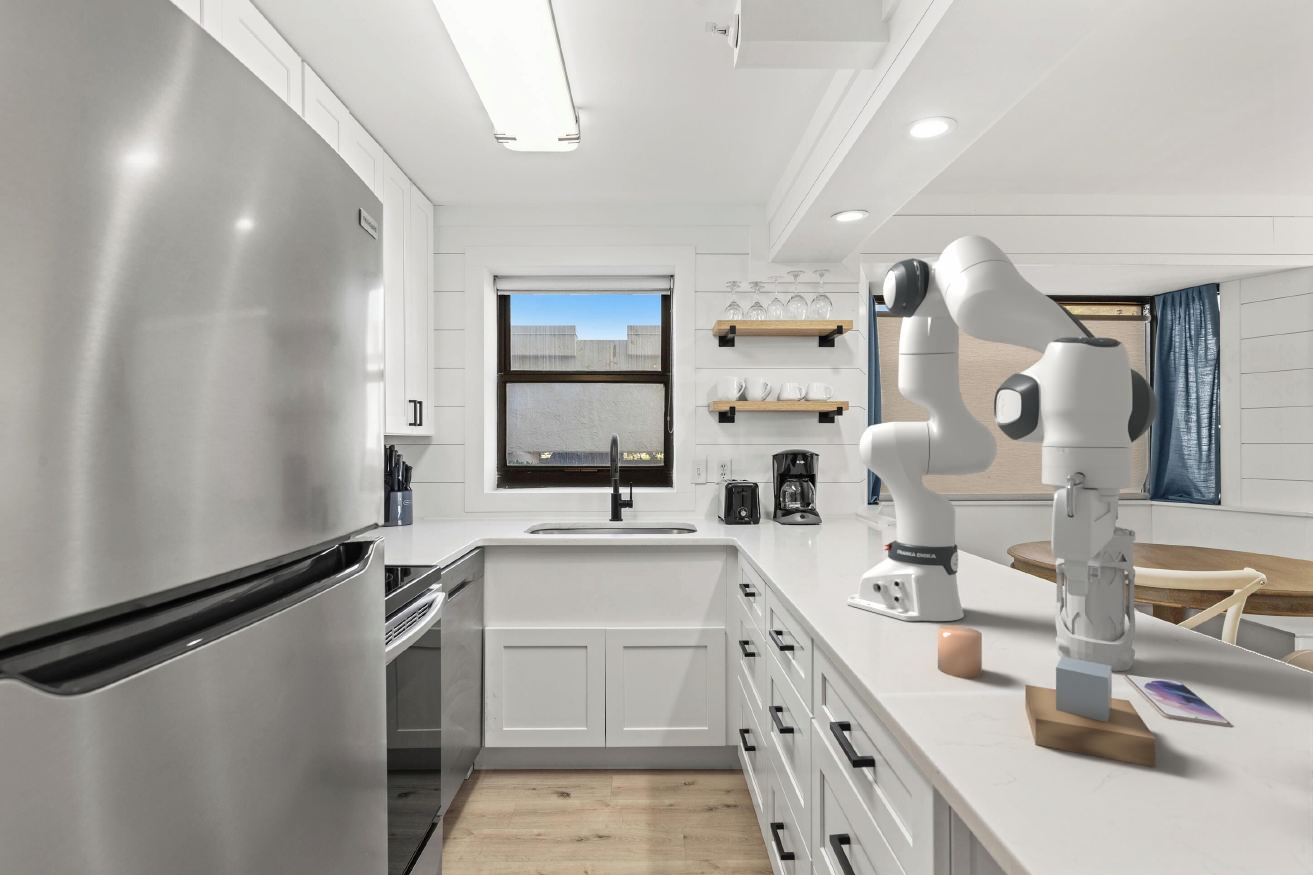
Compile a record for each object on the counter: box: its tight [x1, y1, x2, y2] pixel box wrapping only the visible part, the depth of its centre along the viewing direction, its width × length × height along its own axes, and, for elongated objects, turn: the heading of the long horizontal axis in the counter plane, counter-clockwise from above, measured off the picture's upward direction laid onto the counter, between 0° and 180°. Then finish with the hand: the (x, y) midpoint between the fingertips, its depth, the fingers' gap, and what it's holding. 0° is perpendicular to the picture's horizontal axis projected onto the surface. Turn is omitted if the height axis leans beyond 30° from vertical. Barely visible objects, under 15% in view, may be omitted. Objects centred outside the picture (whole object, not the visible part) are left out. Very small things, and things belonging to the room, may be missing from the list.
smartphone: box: [1123, 674, 1232, 728], centre depth 84 cm, size 7×1×15 cm
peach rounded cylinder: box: [937, 625, 983, 679], centre depth 94 cm, size 6×6×6 cm
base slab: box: [1024, 684, 1156, 768], centre depth 74 cm, size 11×11×3 cm
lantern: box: [1055, 508, 1136, 672], centre depth 100 cm, size 13×10×25 cm
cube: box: [1055, 657, 1113, 722], centre depth 74 cm, size 5×5×5 cm
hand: (1084, 587), depth 74 cm, fingers open, 8 cm apart
